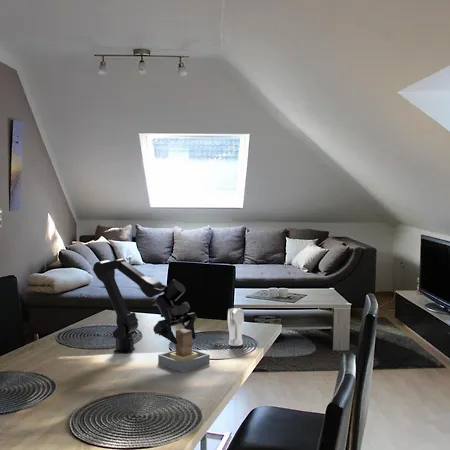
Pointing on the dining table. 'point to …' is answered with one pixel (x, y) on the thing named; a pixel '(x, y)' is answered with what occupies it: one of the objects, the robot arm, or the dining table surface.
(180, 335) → the post
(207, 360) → the housing
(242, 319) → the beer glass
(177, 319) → the robot arm
